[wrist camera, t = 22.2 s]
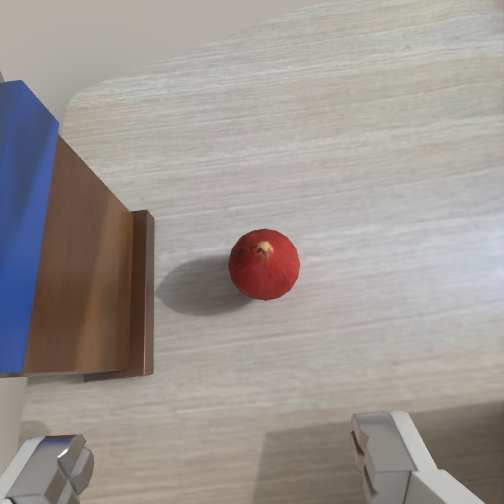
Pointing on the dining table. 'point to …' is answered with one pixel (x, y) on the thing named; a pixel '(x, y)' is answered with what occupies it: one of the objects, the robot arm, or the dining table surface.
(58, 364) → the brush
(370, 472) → the robot arm
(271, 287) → the red pomegranate
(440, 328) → the dining table surface
